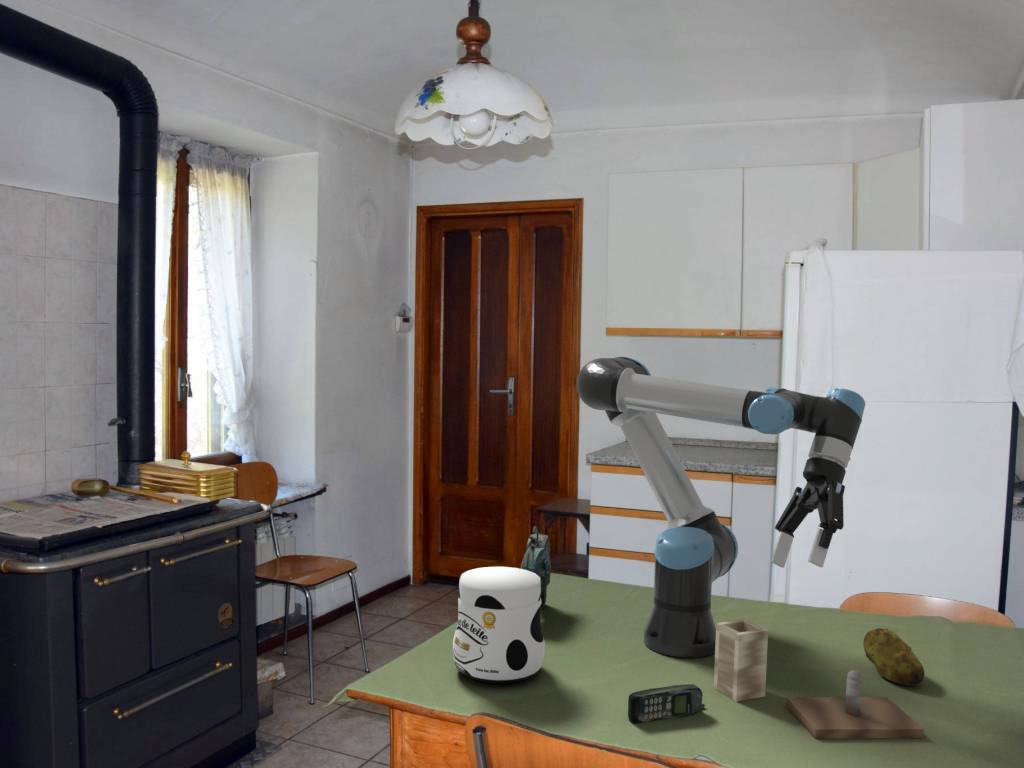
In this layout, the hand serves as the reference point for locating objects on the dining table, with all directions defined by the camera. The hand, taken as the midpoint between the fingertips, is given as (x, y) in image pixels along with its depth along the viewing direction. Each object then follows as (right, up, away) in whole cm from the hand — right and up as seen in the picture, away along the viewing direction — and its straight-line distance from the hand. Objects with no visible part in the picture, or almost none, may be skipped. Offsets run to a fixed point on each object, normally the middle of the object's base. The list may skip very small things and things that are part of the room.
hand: (795, 564), depth 162 cm
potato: (+18, -22, +1) cm, 29 cm away
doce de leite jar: (-57, -20, -2) cm, 60 cm away
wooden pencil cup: (-13, -21, -8) cm, 26 cm away
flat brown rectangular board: (+3, -22, -19) cm, 29 cm away
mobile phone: (-28, -22, -18) cm, 40 cm away
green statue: (-49, -18, +30) cm, 60 cm away
